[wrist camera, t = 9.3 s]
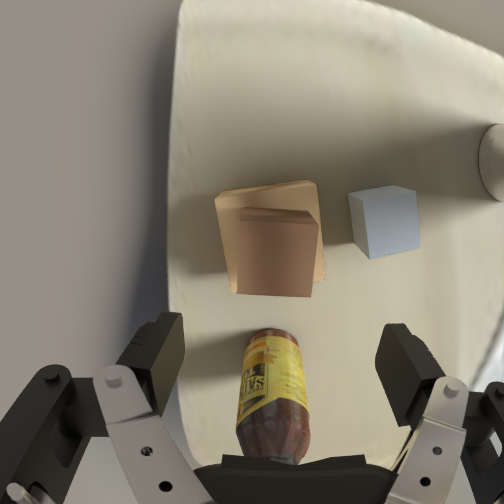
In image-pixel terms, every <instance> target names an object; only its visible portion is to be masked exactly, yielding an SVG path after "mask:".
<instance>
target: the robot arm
mask: <svg viewBox="0 0 504 504" xmlns="http://www.w3.org/2000/svg"><path fill="white" fill-rule="evenodd" d="M479 169H480V174H481V178H482V181H483V183H484V186H485V188H486V189H487V191H488V192H489V194H490V195H491V196H492V197H493V198H495V199H497V200H499V201H502V202H504V124H497V125H494V126H492V127H490V128H489V129H488V130H487V132H486V133H485V134H484V136H483V138H482V141H481V145H480V149H479ZM184 353H185V343H184V330H183V317H182V314H181V313H176V312H167V311H162V312H161V314H160V315H159V317H158V318H157V320H156V322H155V323H154V322H148V323H146V324H145V325H143V326H142V327H140V328H139V329H138V331H137V332H136V334H135V335H134V337H133V338H132V340H131V341H130V344H128V346H127V347H126V349H125V350H124V352H123V353H122V355H121V356H120V358H119V360H118V361H117V363H116V364H115V365H109V366H105V367H103V368H101V369H100V370H98V371H97V372H96V373H95V375H94V377H93V378H72V376H71V373H70V371H69V370H68V368H66V367H64V366H62V365H48V366H46V367H43V368H42V369H40V370H39V371H38V372H37V373H36V374H35V375H34V377H33V378H32V380H31V381H30V382H29V383H28V385H27V386H26V387H25V389H24V390H23V391H22V393H21V394H20V395H19V397H18V398H17V399H16V401H15V402H14V404H13V405H12V406H11V408H10V409H9V410H8V412H7V413H6V415H5V416H4V418H3V419H2V420H1V422H0V504H63V502H64V500H65V497H66V495H67V492H68V490H69V487H70V485H71V482H72V480H73V478H74V475H75V473H76V470H77V468H78V466H79V463H80V461H81V459H82V456H83V454H84V452H85V449H86V447H87V445H88V443H89V441H90V438H91V437H110V439H111V442H112V444H113V447H114V450H115V452H116V455H117V457H118V460H119V462H120V464H121V467H122V469H123V472H124V474H125V476H126V478H127V480H128V483H129V485H130V487H131V489H132V491H133V494H134V496H135V498H136V500H137V502H138V504H445V502H446V499H447V497H448V494H449V491H450V488H451V485H452V482H453V479H454V476H455V473H456V469H457V466H458V463H459V460H460V458H461V461H462V463H463V466H464V469H465V472H466V475H467V477H468V480H469V483H470V485H471V489H472V492H473V495H474V498H475V501H476V504H504V383H502V382H491V383H489V384H488V386H487V387H486V389H485V391H484V393H482V392H470V391H469V390H468V388H467V386H466V385H465V384H464V383H463V382H462V381H461V380H459V379H457V378H454V377H447V376H446V375H445V373H444V372H443V370H442V369H441V367H440V366H439V364H438V363H437V361H436V360H435V358H434V357H433V355H432V354H431V352H430V351H429V349H428V348H427V346H426V345H425V343H424V342H423V341H422V340H421V339H419V338H418V337H417V336H415V335H412V334H411V332H410V331H409V330H408V328H407V327H406V325H405V324H403V323H401V324H386V325H385V327H384V329H383V333H382V336H381V340H380V343H379V346H378V350H377V353H376V357H375V368H376V371H377V373H378V376H379V378H380V381H381V383H382V385H383V388H384V390H385V393H386V395H387V398H388V400H389V403H390V406H391V408H392V411H393V413H394V416H395V419H396V421H397V424H398V426H399V427H401V426H408V425H410V427H411V430H410V432H409V433H408V435H407V437H406V439H405V442H404V444H403V446H402V448H401V450H400V452H399V454H398V456H397V458H396V460H395V461H394V463H393V465H392V467H391V469H390V470H388V469H386V468H383V467H380V466H377V465H372V464H366V460H365V456H364V454H363V455H353V456H340V457H330V458H326V459H322V460H318V461H314V462H310V463H306V464H301V465H291V464H286V463H282V462H277V461H273V460H269V459H264V458H260V457H249V456H236V455H225V454H223V456H222V463H221V464H213V465H208V466H204V467H201V468H197V469H195V470H192V469H191V467H190V466H189V464H188V463H187V461H186V460H185V458H184V456H183V455H182V453H181V452H180V450H179V448H178V447H177V445H176V444H175V442H174V440H173V439H172V437H171V435H170V434H169V432H168V430H167V428H166V427H165V425H164V423H163V421H162V420H161V417H162V414H163V412H164V409H165V406H166V403H167V401H168V398H169V396H170V393H171V391H172V387H173V385H174V383H175V380H176V377H177V375H178V372H179V370H180V367H181V364H182V362H183V359H184ZM495 431H496V433H497V435H498V437H499V439H500V441H501V443H502V452H501V455H500V457H498V455H497V453H496V451H495V448H494V446H493V444H492V442H491V440H490V437H491V436H492V434H493V433H494V432H495Z"/></svg>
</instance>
